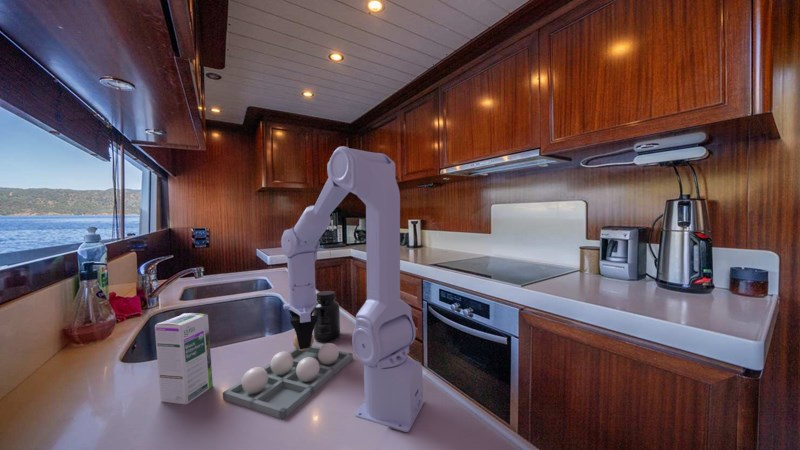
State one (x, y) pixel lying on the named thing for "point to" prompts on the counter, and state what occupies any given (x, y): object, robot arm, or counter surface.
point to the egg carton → (287, 379)
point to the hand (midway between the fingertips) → (304, 343)
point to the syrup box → (183, 357)
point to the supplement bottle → (327, 317)
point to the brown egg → (298, 344)
